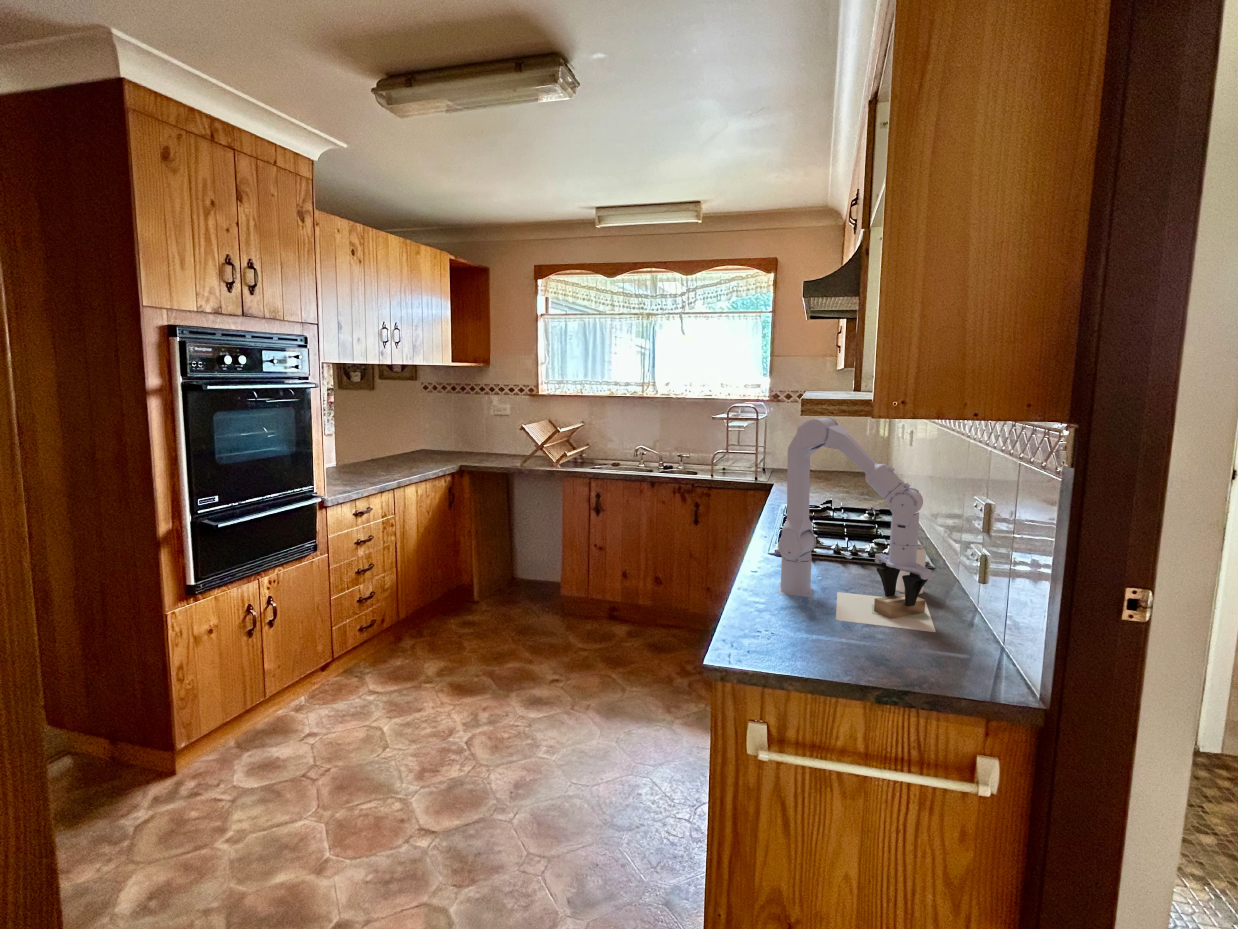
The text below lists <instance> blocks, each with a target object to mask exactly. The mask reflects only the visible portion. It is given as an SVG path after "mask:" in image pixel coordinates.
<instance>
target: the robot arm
mask: <svg viewBox="0 0 1238 929" xmlns="http://www.w3.org/2000/svg"><path fill="white" fill-rule="evenodd" d="M788 445H789V446H788V448H787V468H786V469H787V473H786V474H787V475H786V476H787V477H786V478H787V479H786V480H787V483H786V486H787V487H786V490H787V491H786V521H785V522H784V524H783V527H782V529H781V536H780V538H779V540H778V543H777V548H778V552H779V554H780V555H781V568H780V583H779V587H778V590H777V594H781V595H790V596H798V597H807V598H808V597H809V598H812V592H813V587H814V586H813V585H812V584H811V582H812V581H811V580H812V561H813V560H812V559H813V557H812V551H813V550H814V549H815V547H816V546H817V545H816V544H817V537H816V535H815V534H814V530H813V529H814V528H813V527H814V525H813V523H812V522H811V519H810V488H811V487H810V484H811V482H810V481H811V480H810V478H811V477H810V476H811V456H812V455H813V454H814V453H816V451H818V450H820V448H822V447H823V448H828V449H834V450H839V451H840V452H841V453H842V454H843V455H844V456H845V457H847V458H848V459H849V460H850V461H851V462H852V463H854V465H855V466H857V467H858V468H859V469H860V470H861V471H862V472H864V474H865V482H866V483H867V484H868V485H869V486H870V487H871V488H872V489H873V490H874V491H875V492H876V493H877V494H878V495H879V496H880V497H881V498H882V499H883V500H884V501H885V502H887V503H888V509H889V511H890V512H891V514H892V515H891V522H890V535H889V536H890V537H889V553H888V554H886V553H885V554H884V553H882V552H881V553H876V554H875V555H874V563H877V564H880V565H879V566H876V572H877V574H878V575H879V577H880V580H881V583H882V586H883V591H884V597H887V596H893V595H896V591H897V590H896V583H897V578H898V575H899V572H900V570H902V571H905V572H907V573H910V575H904V576H902V579H903V582H904V586H905V593H904V594H905V605H906V606H908V607H909V606H915V603H916V600H917V597H919V595H920V594H919V592H920V590H921V589H922V587H923V586H925V584H927V582H928V580H931V579H932V571H933V570H931V569H929V568H927V567H926V566H925V567H923V566H922V565H920V564H918V563H917V562H916V560H917V546H918V544H919V528H920V523H919V522H920V521H919V520H920V512H919V511H920V510H921V509H922V508H923V506H924V499H923V496H922V494H921V493H920V491H919V490H918V489H916V488H913V487H911V484H910V483H909V482H906V483H905V481H903V479H902V478H901V477H900V476H898V475H897V473H895V468H894V467H893V466H892V465H889V466H888V465H887V464H886V463H878V462H876V460H874V458H872V456H871V455H869V454H868V452H867V451H866V450H865V449H864V448H863V447H862V446H861V445H860V444H859V443H858V442H857V441H856V440H855V438H853V436H851V434H850V432H848V430H846V428H845V427H843V425H840V424H839V423H838V421H837V420H835V419H834V418H832V417H830V416H826V417H821V418H810V419H808V420H806V421H804V422H803V423H802V424H800V425H799V426H798V427H797V429H796V433H795V435H794V436H793V438H792V440H791V442H790V444H788Z"/></svg>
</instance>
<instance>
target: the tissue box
mask: <svg viewBox="0 0 1238 929" xmlns="http://www.w3.org/2000/svg"><path fill="white" fill-rule="evenodd" d="M880 597H881V598H875V602H874V611H875V612H877V613H879V614H881V615H884V616H886V617H888V618H890V619H891V618H897V617H903V616H909V615H914V614H920V613H925V601H926V599H924V598H922V597H919V596H918V597H917V600H916V603H915V606H909V607H908V606H906V605H905V593H901V594H895V595H893V596H887V597H885V596H880Z"/></svg>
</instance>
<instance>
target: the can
mask: <svg viewBox="0 0 1238 929" xmlns="http://www.w3.org/2000/svg"><path fill="white" fill-rule="evenodd" d="M926 556H927V553H926V550H925V546H924V545H922V544H919V543H918V546H917V560H916V562H917V563H918V564H920V565H922V566H923V567H925V568H926V561H927V558H926ZM904 575H910V573H907V572H905V571H902V570H900V572H899V575H898V578H897V583H896V591H897V592H900V593H901V594H905V586H904V582H903V579H902V576H904ZM924 586H925V585H924ZM924 586H923V587H922V589H921V590H920V592H919V595H921V594H923V593H924V589H925V588H924Z"/></svg>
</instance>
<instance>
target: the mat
mask: <svg viewBox="0 0 1238 929" xmlns="http://www.w3.org/2000/svg"><path fill="white" fill-rule="evenodd" d="M881 597H882V596H879V595H870V594H869V595H867V594H858V593H848V592H840V591H839V592H838V591H837V594H836V612H835V621H839V622H847V623H856V624H862V625H863V624H864V625H872V626H880V627H890V628H897V629H898V628H899V629H906V630H912V631H913V630H914V631H923V632H931V633H932V632H933V633H936V629H935V625H934V622H933V619H932V615H931V613H930V611H929V607H928V605H927V601H926V600H925V613H920V614H914V615H909V616H903V617H897V618H891V619H890V618H888V617H886V616H884V615H881V614H879V613H877V612H875V611H874V602H875V598H881Z"/></svg>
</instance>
